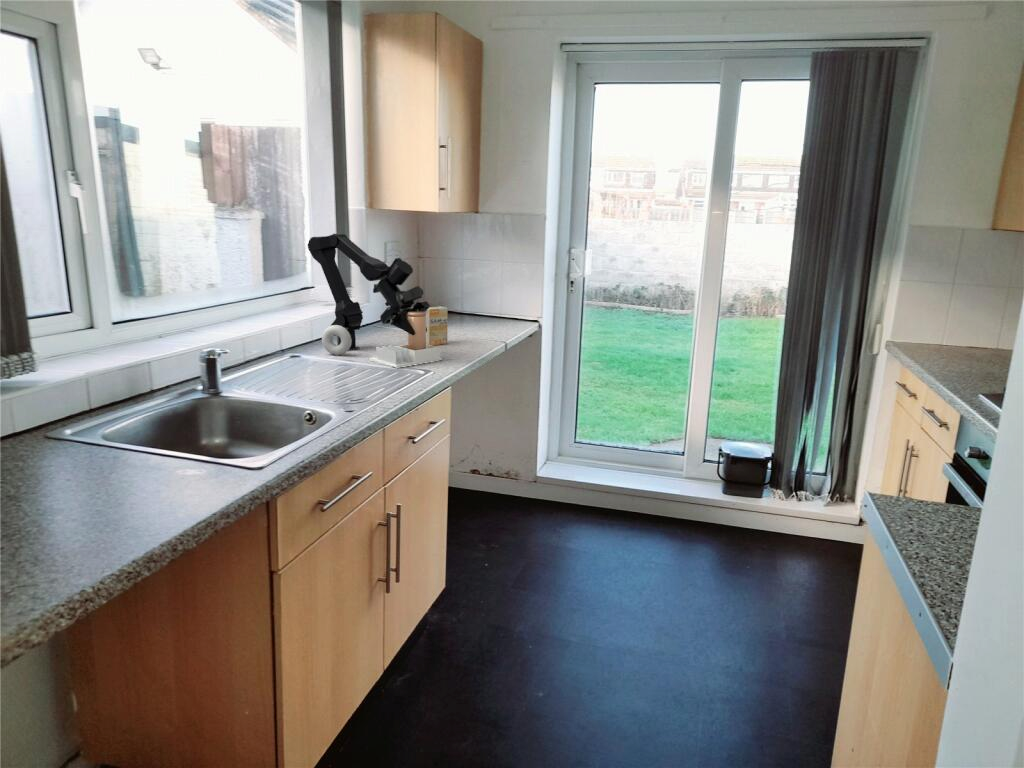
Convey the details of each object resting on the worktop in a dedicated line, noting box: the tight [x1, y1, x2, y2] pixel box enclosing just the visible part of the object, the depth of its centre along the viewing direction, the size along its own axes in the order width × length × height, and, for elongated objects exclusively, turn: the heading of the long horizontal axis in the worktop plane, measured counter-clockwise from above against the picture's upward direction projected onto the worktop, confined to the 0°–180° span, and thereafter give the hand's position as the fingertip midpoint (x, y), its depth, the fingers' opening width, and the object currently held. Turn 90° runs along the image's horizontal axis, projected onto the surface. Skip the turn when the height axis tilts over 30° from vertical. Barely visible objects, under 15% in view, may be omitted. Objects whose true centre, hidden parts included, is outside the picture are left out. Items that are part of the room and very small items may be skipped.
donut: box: [321, 324, 352, 356], centre depth 232 cm, size 10×4×10 cm, turn 80°
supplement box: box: [426, 306, 449, 346], centre depth 252 cm, size 8×5×13 cm, turn 131°
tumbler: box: [407, 311, 426, 351], centre depth 226 cm, size 6×6×13 cm
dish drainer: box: [369, 343, 443, 367], centre depth 226 cm, size 14×18×5 cm
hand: (420, 333), depth 225 cm, fingers closed on tumbler, 6 cm apart
